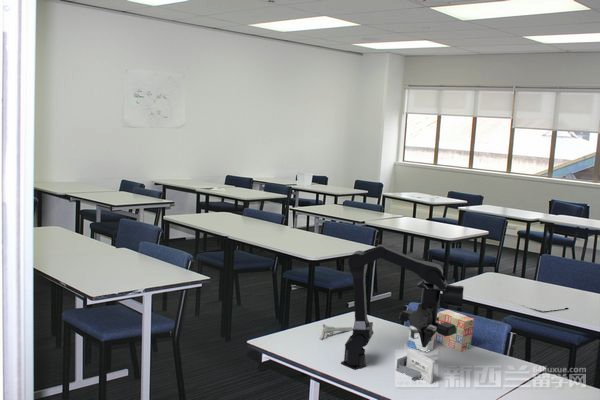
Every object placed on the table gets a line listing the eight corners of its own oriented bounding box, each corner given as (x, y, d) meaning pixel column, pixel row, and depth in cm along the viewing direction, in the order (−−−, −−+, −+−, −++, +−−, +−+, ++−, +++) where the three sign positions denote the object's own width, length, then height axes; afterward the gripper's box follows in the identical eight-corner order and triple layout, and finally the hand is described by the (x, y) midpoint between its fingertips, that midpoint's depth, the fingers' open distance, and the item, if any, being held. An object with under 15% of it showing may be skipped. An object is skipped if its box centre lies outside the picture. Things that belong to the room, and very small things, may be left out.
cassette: (404, 370, 202) (406, 348, 201) (408, 369, 203) (410, 348, 202) (429, 384, 192) (432, 362, 191) (433, 383, 193) (436, 361, 192)
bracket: (393, 371, 200) (394, 360, 199) (407, 365, 206) (408, 355, 205) (415, 381, 193) (416, 369, 193) (429, 374, 199) (431, 363, 199)
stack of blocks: (417, 334, 240) (420, 305, 238) (426, 331, 244) (430, 303, 242) (461, 352, 224) (465, 320, 222) (470, 349, 228) (474, 318, 226)
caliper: (321, 341, 224) (322, 325, 223) (319, 340, 225) (320, 324, 224) (354, 330, 239) (355, 315, 238) (351, 329, 240) (353, 314, 239)
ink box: (406, 346, 225) (410, 316, 223) (413, 343, 229) (416, 314, 227) (426, 353, 219) (429, 322, 218) (433, 350, 223) (436, 320, 221)
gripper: (392, 297, 194) (387, 342, 196) (441, 314, 181) (435, 362, 183) (411, 293, 202) (406, 336, 204) (460, 308, 189) (453, 354, 191)
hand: (424, 347), depth 195 cm, fingers closed
